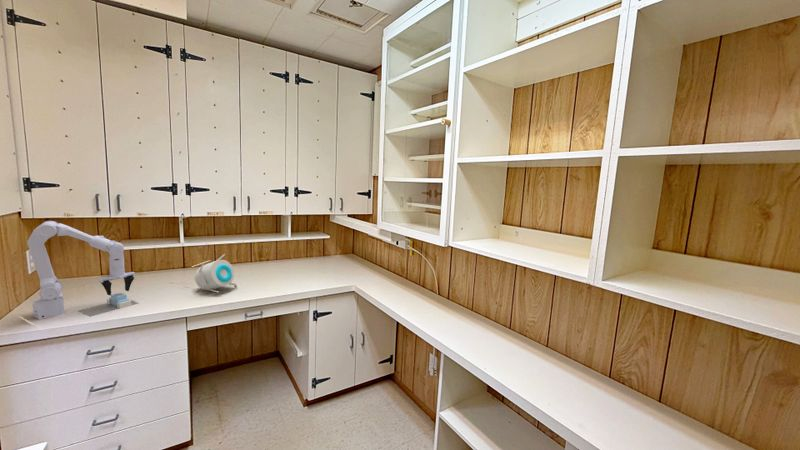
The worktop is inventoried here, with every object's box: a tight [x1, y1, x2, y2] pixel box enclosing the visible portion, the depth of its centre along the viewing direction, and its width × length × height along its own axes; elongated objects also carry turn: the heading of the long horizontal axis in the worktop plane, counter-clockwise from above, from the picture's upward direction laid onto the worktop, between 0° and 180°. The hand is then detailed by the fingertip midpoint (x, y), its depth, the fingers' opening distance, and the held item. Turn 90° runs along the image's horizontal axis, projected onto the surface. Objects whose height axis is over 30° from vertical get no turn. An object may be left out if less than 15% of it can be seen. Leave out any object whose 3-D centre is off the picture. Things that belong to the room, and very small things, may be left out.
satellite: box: [191, 251, 238, 297], centre depth 196 cm, size 23×20×25 cm
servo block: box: [108, 292, 130, 306], centre depth 167 cm, size 4×10×6 cm, turn 64°
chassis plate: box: [77, 297, 140, 317], centre depth 163 cm, size 20×12×4 cm, turn 155°
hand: (118, 292), depth 166 cm, fingers open, 7 cm apart
